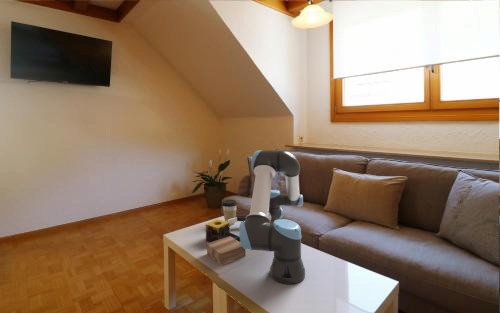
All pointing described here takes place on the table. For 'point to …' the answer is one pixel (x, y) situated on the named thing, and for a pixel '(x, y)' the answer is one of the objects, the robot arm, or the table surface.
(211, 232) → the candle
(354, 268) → the table surface
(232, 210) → the coffee cup
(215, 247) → the wooden box
